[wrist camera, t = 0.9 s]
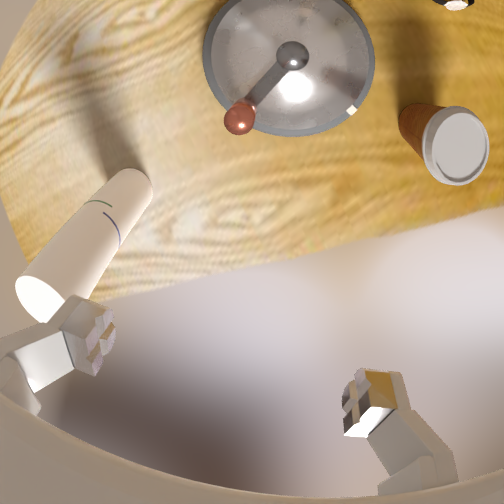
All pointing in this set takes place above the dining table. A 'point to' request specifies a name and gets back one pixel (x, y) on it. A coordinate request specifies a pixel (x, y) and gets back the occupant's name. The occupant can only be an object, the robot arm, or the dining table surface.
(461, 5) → the watch
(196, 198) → the dining table surface
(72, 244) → the cylindrical container
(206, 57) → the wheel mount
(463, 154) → the disposable coffee cup
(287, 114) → the handwheel
